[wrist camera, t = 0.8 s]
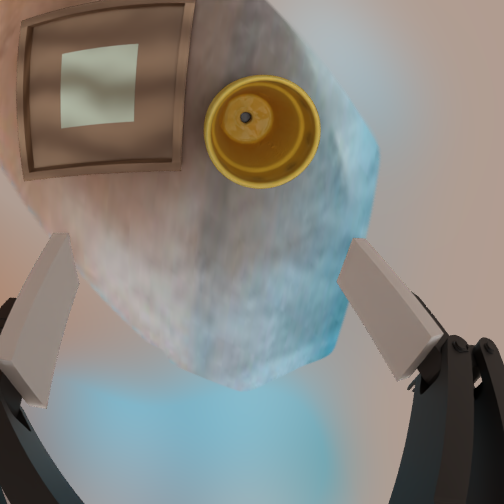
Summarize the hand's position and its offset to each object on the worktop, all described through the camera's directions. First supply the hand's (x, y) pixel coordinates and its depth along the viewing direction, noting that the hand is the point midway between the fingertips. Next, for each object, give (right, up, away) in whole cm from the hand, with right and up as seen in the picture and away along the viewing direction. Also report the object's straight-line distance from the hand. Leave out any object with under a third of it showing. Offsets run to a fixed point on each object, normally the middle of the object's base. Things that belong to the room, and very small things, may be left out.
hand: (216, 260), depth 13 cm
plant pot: (+1, +16, +19) cm, 24 cm away
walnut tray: (-15, +19, +12) cm, 27 cm away
